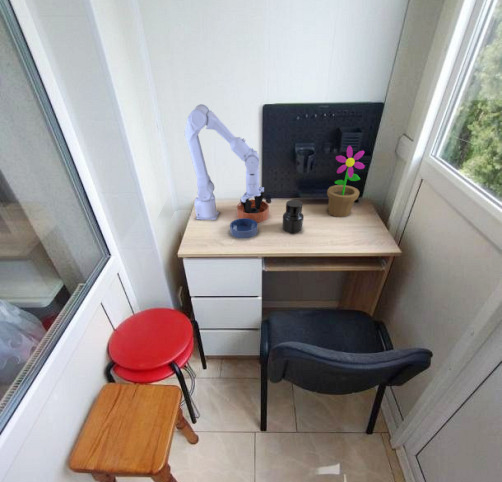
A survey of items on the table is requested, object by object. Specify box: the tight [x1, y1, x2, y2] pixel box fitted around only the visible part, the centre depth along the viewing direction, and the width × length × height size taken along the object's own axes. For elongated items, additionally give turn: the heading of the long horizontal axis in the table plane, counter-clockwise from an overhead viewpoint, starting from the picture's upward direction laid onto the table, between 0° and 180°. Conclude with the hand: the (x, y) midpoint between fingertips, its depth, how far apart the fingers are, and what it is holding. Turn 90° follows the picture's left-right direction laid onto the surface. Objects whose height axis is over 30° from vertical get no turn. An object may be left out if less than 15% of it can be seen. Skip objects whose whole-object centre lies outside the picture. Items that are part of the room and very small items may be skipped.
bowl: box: [236, 199, 270, 224], centre depth 134 cm, size 15×15×5 cm
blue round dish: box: [229, 218, 259, 239], centre depth 124 cm, size 12×12×4 cm
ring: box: [250, 208, 258, 214], centre depth 134 cm, size 5×5×3 cm
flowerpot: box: [326, 145, 366, 218], centre depth 127 cm, size 14×14×30 cm
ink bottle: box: [281, 199, 305, 234], centre depth 122 cm, size 10×9×12 cm
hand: (252, 211), depth 134 cm, fingers open, 7 cm apart
